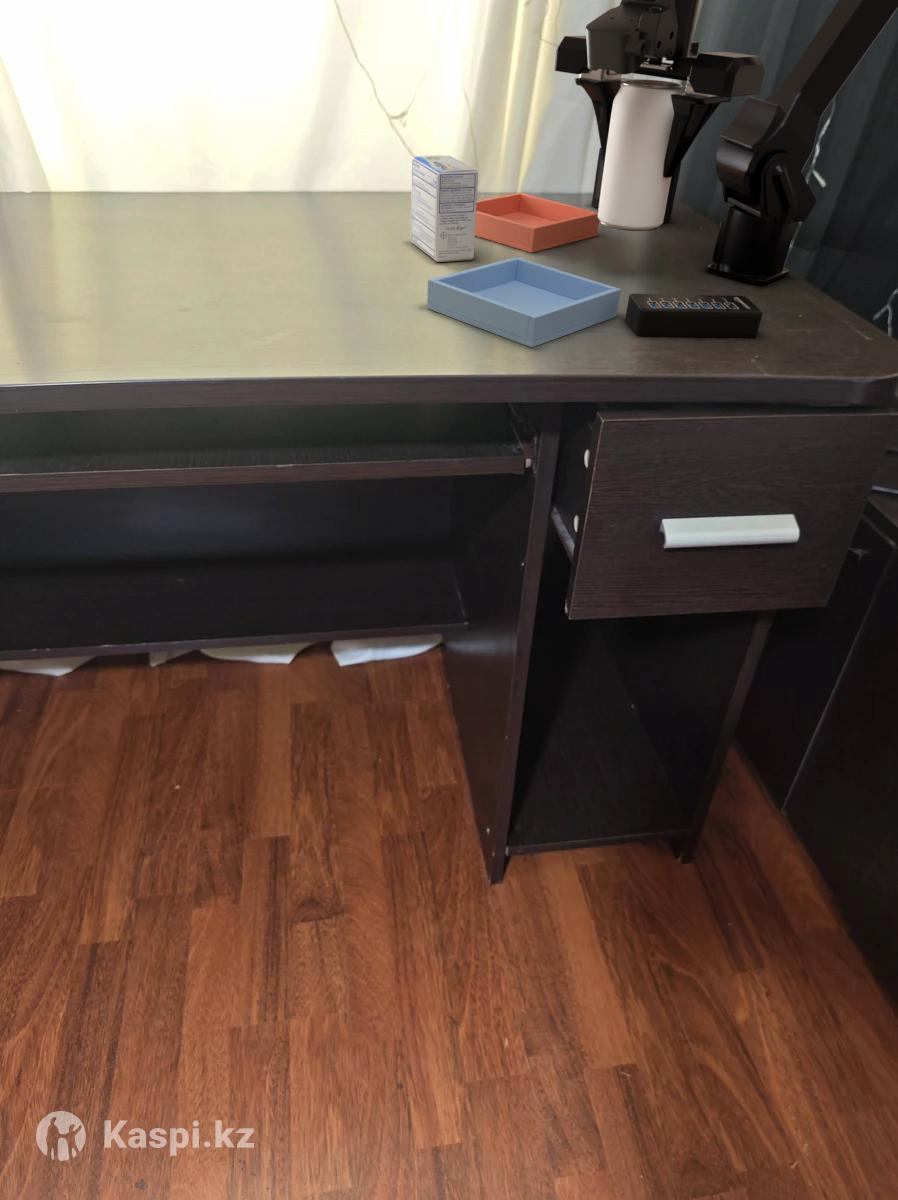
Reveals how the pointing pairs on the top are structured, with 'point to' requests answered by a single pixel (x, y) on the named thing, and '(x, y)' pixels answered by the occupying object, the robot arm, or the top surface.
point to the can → (637, 156)
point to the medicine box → (443, 207)
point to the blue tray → (523, 300)
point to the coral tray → (533, 222)
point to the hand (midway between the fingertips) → (636, 170)
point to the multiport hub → (692, 315)
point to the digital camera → (599, 183)
